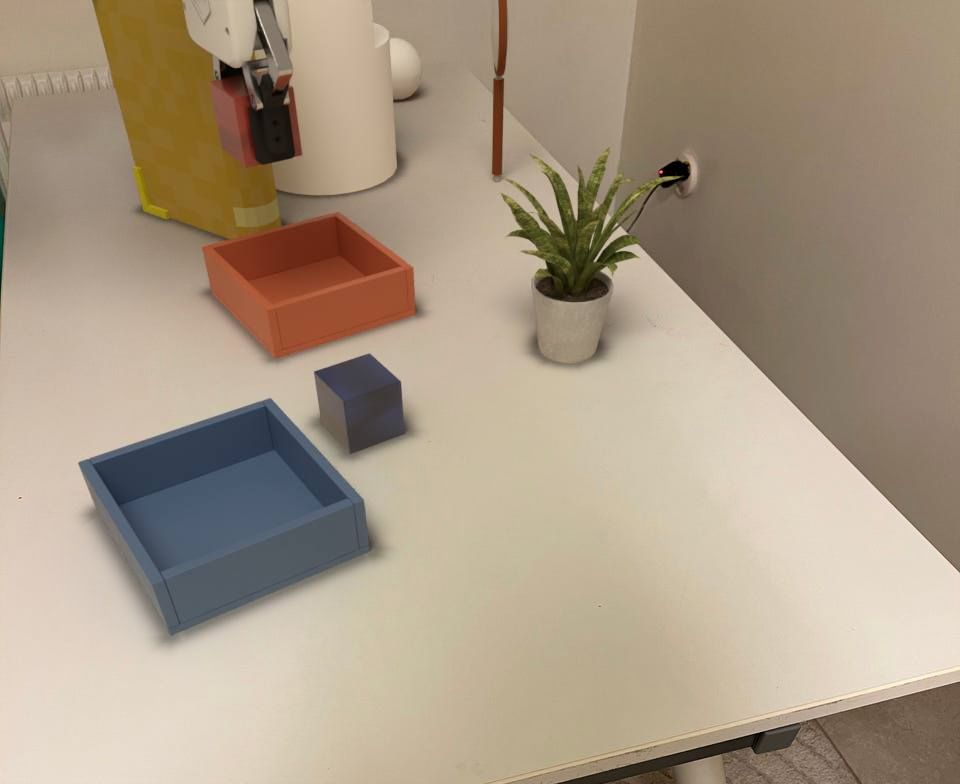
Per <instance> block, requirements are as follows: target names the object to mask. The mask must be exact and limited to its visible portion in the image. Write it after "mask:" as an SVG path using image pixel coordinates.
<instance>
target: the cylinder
mask: <svg viewBox="0 0 960 784" xmlns="http://www.w3.org/2000/svg"><path fill="white" fill-rule="evenodd" d="M372 3H373V2H372V0H288V7H289V15H290V24H291V34H292V51H291V53H290V55H289V57H290V60H291V62H292V66H293V75H292V77H291V79H290V81H289V82H290V83H289V85H290V86H292V87H293V89H294V96H295V104H296V111H297V119H298V126H299V134H300V141H301V148H302V155H301V156H297V157H293V158H291V159H287V160H283V161H278V162H274V163H272V168H273V174H274V181H275V187H276V191H281V192H285V193H291V194H294V195H305V196H306V195H307V196H332V195H333V196H336V195H342V194H349V193H355V192H359V191H363V190H366V189H370V188H373V187H375V186H378V185H380V184H382V183H384V182H386V181H387V180H389V179H390V178H391V177H392V176H394V175H395V172H396V170H397V169H398V159H397V144H396V143H397V142H396V127H395V111H394V110H395V109H394V108H395V107H394V100H393V90H392V73H391V56H390V39H389V38H390V31H389V30H388V29H387V28H385V26H383V25H381V24H379V23H376V22H374V18H373V16H374V15H373V4H372ZM254 52H255V58H256V60H257V59H263V58H267V57H266V55H265V52H264V49H261V50H255V51H254ZM257 71H258V72H261V71H267V68H263V69H257Z"/></svg>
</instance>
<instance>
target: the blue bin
mask: <svg viewBox="0 0 960 784" xmlns="http://www.w3.org/2000/svg"><path fill="white" fill-rule="evenodd" d="M77 465H78V467H79V469H80V472H81V474H82V477H83V479H84V482H85V484H86V487H87V489H88V492H89V495H90V497H91V500H92V502H93V504H94V505H93V506H94V507H95V510H96V512H97V514H98V516H99V518H100V520H101V521H102V523H103V524H104V526H105V528H106V530H107V532H108V533H109V535H110V536H111V538H112V540H113V542H114V543H115V544H116V547H117V548H118V550H119V552H120V553H121V555H122V557H123V559H124V560H125V562H126V563H127V565H128V567H129V568H130V570H131V572H132V574H133V575H134V577H135V579H136V580H137V582H138V584H139V585H140V587H141V589H142V590H143V593H144V594H145V596H146V597H147V599H148V601H149V603H150V604H151V606H152V607H153V609H154V610H155V612H156V614H157V616H158V617H159V619H160V621H161V622H162V624H163V626H164V627H165V629H166V631H167V633H168V634H169V635H170V636H174V635H177V634H179V633H181V632H183V631H187V630H188V629H190V628H193V627H195V626H198V625H200V624H202V623H205V622H208V621H209V620H212V619H214V618H216V617H219V616H221V615H223V614H226V613H228V612H231V611H233V610H236V609H238V608H241V607H243V606H245V605H247V604H250V603H252V602H254V601H257V600H259V599H261V598H264V597H266V596H269V595H271V594H274V593H276V592H278V591H281V590H282V589H285V588H287V587H290V586H292V585H294V584H297V583H299V582H302V581H303V580H306V579H308V578H311V577H313V576H315V575H318V574H321V573H323V572H325V571H327V570H329V569H332V568H334V567H337V566H340V565H342V564H344V563H346V562H349V561H351V560H353V559H356V558H359V557H360V556H361V557H362V556H363V555H365V554H368V553H369V552H370V551H371V549H370V548H371V547H370V540H369V531H368V524H367V523H368V522H367V514H366V505H365V499H364V498H363V497H362V496H361V495H360V494H359V492H358V491H356V489H355V488H354V487H353V486H352V485H351V484H350V483H349V482H348V481H347V480H346V478H345V477H344V476H343V475H342V474H341V473H340V472H339V471H338V470H337V469H336V468H335V467H334V465H333V464H332V463H331V462H330V461H329V460H328V459H327V458H326V456H324V454H323V453H322V452H321V451H320V450H319V449H318V448H317V446H315V444H313V442H312V441H311V440H310V439H309V438H308V436H306V435H305V434H304V432H303V431H302V430H301V429H300V428H299V427H298V426H297V425H296V424H295V423H294V421H292V419H291V418H290V417H289V416H288V415H287V414H286V413H285V412H284V410H282V409H281V407H280V406H279V405H278V404H277V403H276V402H275V401H274V399H273V398H272V397H269V398H266V399H262V400H259V401H256V402H253V403H250V404H248V405H244V406H241V407H238V408H235V409H233V410H229V411H227V412H223V413H221V414H218V415H214V416H212V417H209V418H206V419H202V420H200V421H197V422H194V423H190V424H188V425H185V426H184V425H183V426H181V427H178V428H175V429H173V430H170V431H166V432H163V433H160V434H158V435H155V436H151V437H149V438H146V439H143V440H140V441H136V442H134V443H131V444H128V445H125V446H122V447H118V448H115V449H113V450H110V451H106V452H104V453H101V454H98V455H95V456H92V457H89V458H87V459H83V460H80V461H78V463H77Z"/></svg>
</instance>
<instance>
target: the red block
mask: <svg viewBox="0 0 960 784" xmlns="http://www.w3.org/2000/svg"><path fill="white" fill-rule="evenodd" d="M267 72H268V71H261V72H256V76H257V80H258V84H259V85H260V81H261V78H262V75H264V74H267ZM209 84H210V89H211V95H212V100H213V105H214V110H215V115H216V120H217V125H218V130H219V136H220V141H221V146H222V149H223V150H224V151H226V152H227V153H228V154H229V155H231V156H232V157H233V158H234V159H236V160H237V161H238V162H239V163H241V164H242V165H243V166H245V167H246V168H248V167H253V166H257V165H262V164H260V163H259V162H258V161H257V160H256V156H255V150H254V144H253V138H252V132H251V127H250V121H249V115H248V109H247V108H252V104H251V100H250V96H249V93H248V89H247V85H246V81H245V77H244V75H240V76H234V77H229V78H223V79H218V80H213V81H209ZM288 93H289V97H290V104H289V112H290V119H291V126H292V133H293V140H294V147H295V156H294V157H297V156H301V155H302V148H301V141H300V134H299V126H298V119H297V111H296V104H295V96H294V89H293V87H292V86H290V85H289V88H288Z"/></svg>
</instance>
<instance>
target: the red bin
mask: <svg viewBox="0 0 960 784" xmlns="http://www.w3.org/2000/svg"><path fill="white" fill-rule="evenodd" d="M201 251H202V255H203V258H204V263H205V268H206V273H207V277H208V282H209V286H210V290H211V294H212V295H213V296H214V297H215V298H216V299H217V301H219V303H221V304H222V305H223V306H224V307H225V308H226V309H227V311H229V313H230V314H231V315H232V316H233V317H234V318H235V319H236V320H237V321H238V322H239V323H240V324H241V326H243V327H244V328H245V329H246V330H247V331H248V333H250V335H252V336H253V337H254V338H255V340H257V341H258V343H259V344H260V345H261V346H263V347H264V349H265V350H266V351H267V352H268V353H269V354H270V355H271V356H272V357H273V358H274V359H275V360H276V359H280V358H284V357H287V356H289V355H293V354H296V353H299V352H302V351H305V350H307V349H311V348H314V347H319V346H321V345H323V344H328V343H331V342H333V341H336V340H340V339H344V338H346V337H349V336H353V335H356V334H359V333H362V332H365V331H368V330H372V329H374V328H377V327H380V326H385V325H387V324H391V323H393V322H396V321H399V320H403V319H406V318H409V317H413V316H415V315H417V314H416V296H415V295H416V294H415V276H414V266H412V265H411V264H410V263H408V262H407V261H405V260H404V259H403V258H402V257H400V256H399V255H397V254H396V253H395V252H393V251H392V250H391V249H390V248H388V247H387V246H385V244H383V243H381V242H380V241H379V240H378V239H376V238H375V237H373V236H372V235H370V234H369V233H368V232H367V231H366V230H364V229H363V228H362V227H360V226H359V225H358V224H356V223H355V222H353V221H352V220H351V219H349V218H348V217H346V216H345V214H343V213H342V212H340V211H336V212H333V213H328V214H324V215H320V216H316V217H312V218H308V219H304V220H300V221H297V222H293V223H289V224H285V225H281V226H280V227H277V228H273V229H269V230H265V231H261V232H257V233H253V234H249V235H245V236H242V237H238V238H234V239H226V240H223V241H219V242H215V243H211V244H207V245H203V246H201Z"/></svg>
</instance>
